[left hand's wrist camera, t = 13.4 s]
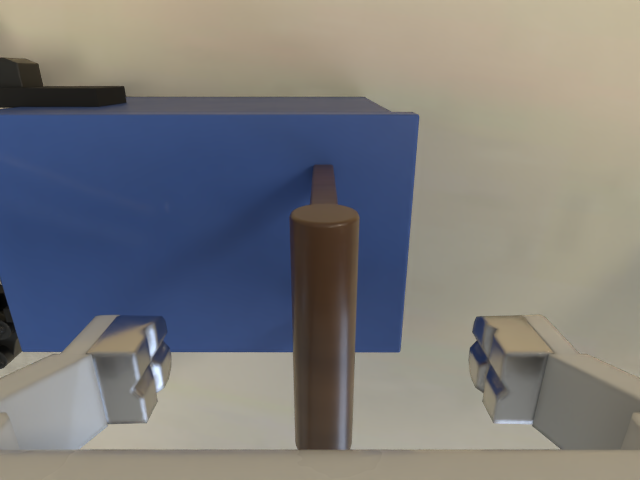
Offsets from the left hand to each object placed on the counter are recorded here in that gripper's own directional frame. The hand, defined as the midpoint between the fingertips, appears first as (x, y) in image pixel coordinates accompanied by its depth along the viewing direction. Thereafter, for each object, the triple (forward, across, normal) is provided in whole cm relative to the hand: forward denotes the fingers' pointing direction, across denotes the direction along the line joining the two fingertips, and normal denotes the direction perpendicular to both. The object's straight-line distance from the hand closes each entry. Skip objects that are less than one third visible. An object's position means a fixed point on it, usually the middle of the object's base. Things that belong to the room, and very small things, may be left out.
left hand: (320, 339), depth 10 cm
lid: (+7, -5, 0) cm, 8 cm away
